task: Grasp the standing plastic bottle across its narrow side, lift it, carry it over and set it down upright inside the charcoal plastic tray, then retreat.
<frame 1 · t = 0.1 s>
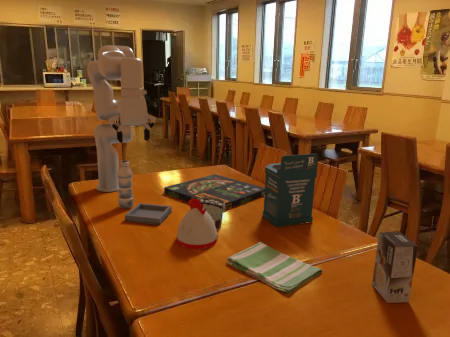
hand: (133, 141, 137), 31 cm above the table, tool pointing down, fingers open, 9 cm apart
kitchen timer: (197, 240, 130), on the table
food container: (212, 224, 144), on the table
pizza box: (216, 195, 180), on the table
donation box: (284, 218, 153), on the table
coffee box: (389, 293, 102), on the table
plastic bottle: (126, 207, 158), on the table
dish towel: (272, 270, 113), on the table
tray: (149, 216, 149), on the table
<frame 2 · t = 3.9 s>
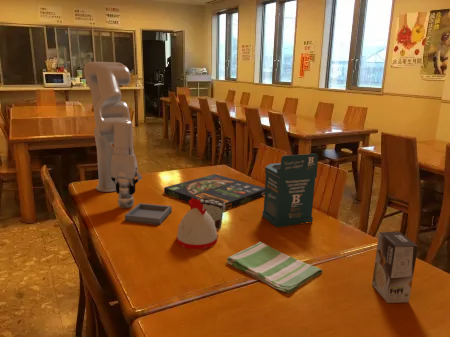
hand: (125, 192, 157), 6 cm above the table, tool pointing down, fingers closed on plastic bottle, 5 cm apart
plastic bottle: (126, 207, 158), on the table, touching gripper
everything else where it was.
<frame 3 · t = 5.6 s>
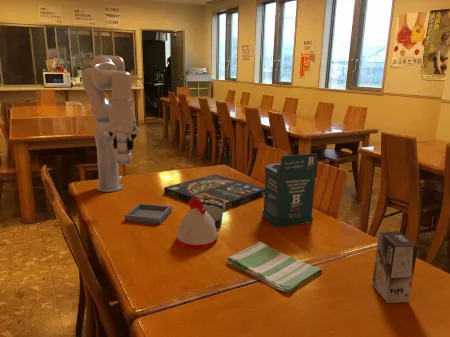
hand: (123, 148, 152), 25 cm above the table, tool pointing down, fingers closed on plastic bottle, 5 cm apart
plastic bottle: (124, 164, 154), point 19 cm above the table, touching gripper
everything else where it was.
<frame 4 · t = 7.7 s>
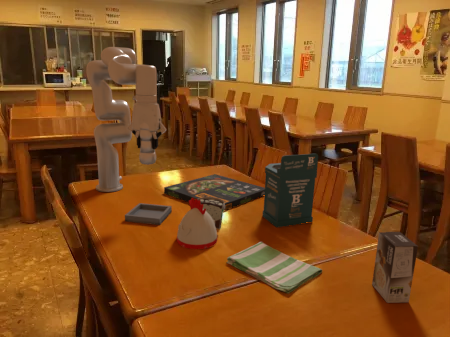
hand: (147, 147, 142), 28 cm above the table, tool pointing down, fingers closed on plastic bottle, 5 cm apart
plastic bottle: (147, 164, 144), point 21 cm above the table, touching gripper
everything else where it was.
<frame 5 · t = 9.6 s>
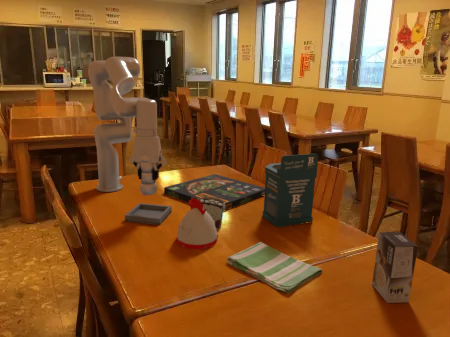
hand: (148, 178, 145), 16 cm above the table, tool pointing down, fingers closed on plastic bottle, 5 cm apart
plastic bottle: (148, 194, 147), point 9 cm above the table, touching gripper
everything else where it was.
when the fingers open (8 cm above the table, at t = 11.5 s): plastic bottle moves 1 cm, resting on tray.
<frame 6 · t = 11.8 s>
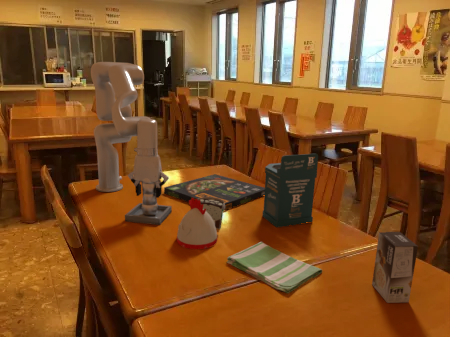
hand: (148, 195, 147), 9 cm above the table, tool pointing down, fingers open, 7 cm apart
plastic bottle: (149, 214, 149), point 1 cm above the table, touching tray
everything else where it was.
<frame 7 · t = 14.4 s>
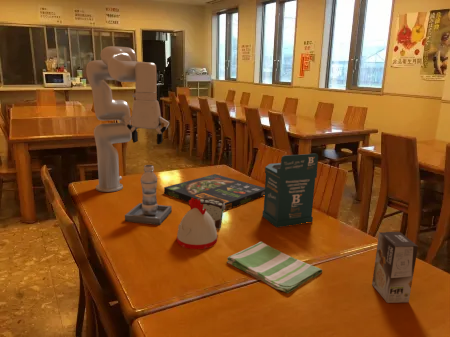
hand: (147, 142, 142), 30 cm above the table, tool pointing down, fingers open, 9 cm apart
nothing on the table moved.
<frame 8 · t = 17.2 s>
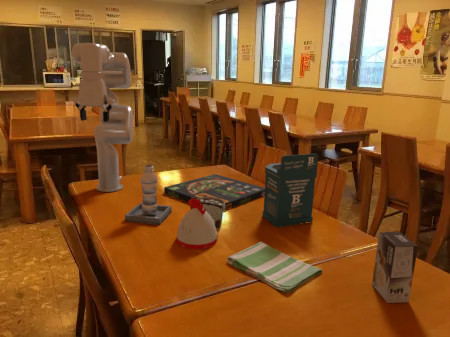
hand: (94, 120, 149), 36 cm above the table, tool pointing down, fingers open, 9 cm apart
nothing on the table moved.
at the end: plastic bottle inside the target area on the tray (0.3 cm from its centre), point 0.6 cm above the tray's base; plastic bottle tilted 0°; the gripper is holding nothing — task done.
